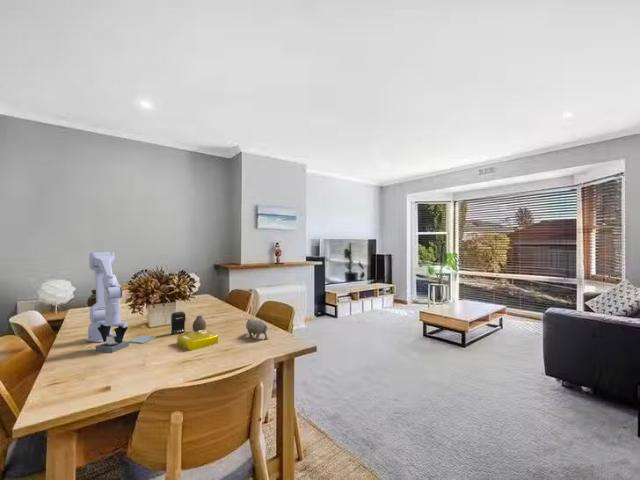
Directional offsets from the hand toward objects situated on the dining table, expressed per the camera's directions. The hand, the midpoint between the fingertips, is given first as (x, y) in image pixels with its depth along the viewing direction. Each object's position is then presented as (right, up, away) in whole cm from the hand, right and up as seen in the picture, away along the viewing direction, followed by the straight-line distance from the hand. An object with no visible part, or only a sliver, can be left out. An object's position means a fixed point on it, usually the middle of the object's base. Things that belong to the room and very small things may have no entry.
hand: (112, 341), depth 141 cm
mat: (+7, -3, +12) cm, 14 cm away
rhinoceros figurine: (+62, -3, +18) cm, 65 cm away
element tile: (+37, -4, +7) cm, 37 cm away
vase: (+30, -3, +25) cm, 39 cm away
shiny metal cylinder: (0, -3, 0) cm, 3 cm away
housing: (0, -3, 0) cm, 3 cm away
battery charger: (+20, -3, +23) cm, 31 cm away
